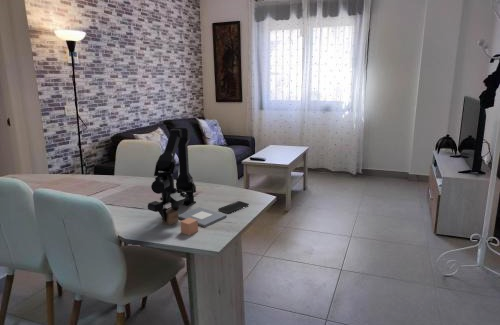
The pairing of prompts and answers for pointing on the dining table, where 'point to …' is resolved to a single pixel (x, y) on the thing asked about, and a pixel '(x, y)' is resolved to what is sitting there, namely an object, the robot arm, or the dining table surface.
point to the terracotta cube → (189, 226)
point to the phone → (233, 207)
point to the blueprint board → (203, 216)
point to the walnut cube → (171, 217)
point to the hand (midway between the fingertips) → (170, 219)
